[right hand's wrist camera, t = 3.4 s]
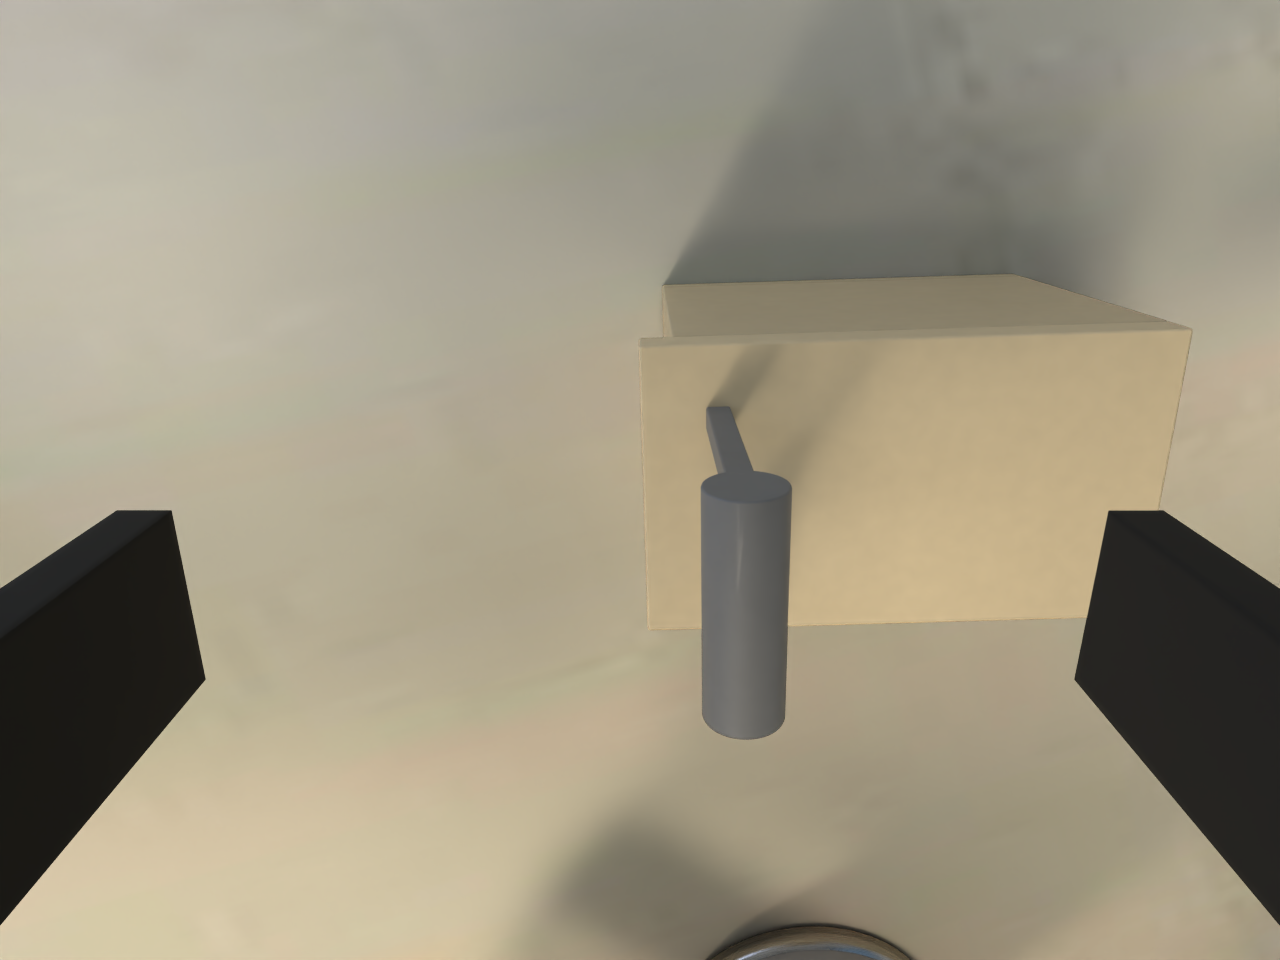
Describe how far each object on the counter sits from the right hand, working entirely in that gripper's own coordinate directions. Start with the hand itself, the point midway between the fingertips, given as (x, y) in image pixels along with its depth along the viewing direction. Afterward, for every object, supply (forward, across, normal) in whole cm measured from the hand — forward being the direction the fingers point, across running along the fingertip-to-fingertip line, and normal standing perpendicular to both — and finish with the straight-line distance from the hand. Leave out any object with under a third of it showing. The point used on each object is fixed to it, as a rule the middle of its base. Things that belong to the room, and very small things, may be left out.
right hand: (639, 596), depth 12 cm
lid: (+14, -8, +3) cm, 17 cm away
